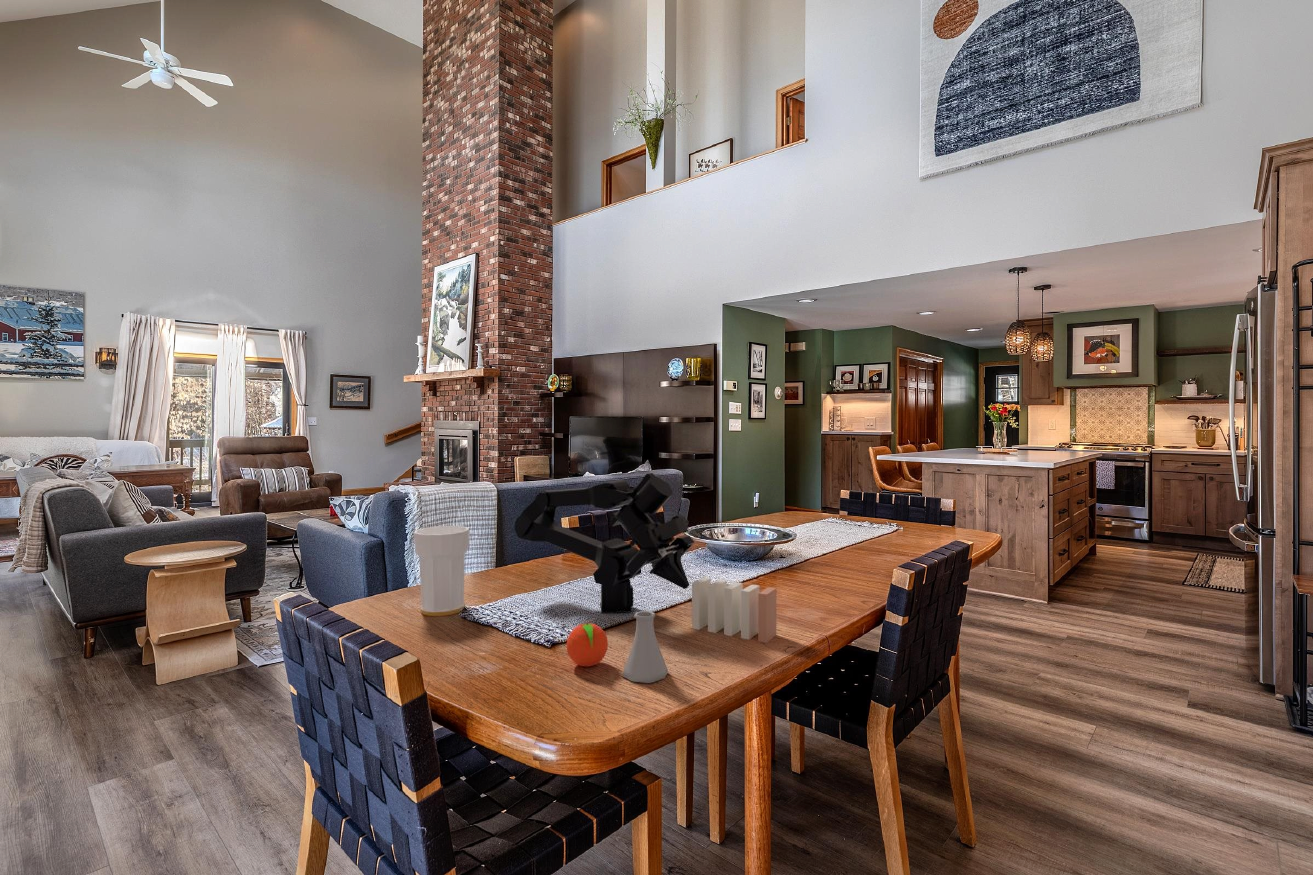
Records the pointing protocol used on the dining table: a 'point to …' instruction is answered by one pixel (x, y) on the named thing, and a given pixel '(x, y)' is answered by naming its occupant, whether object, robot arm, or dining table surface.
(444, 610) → the cup
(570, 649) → the clementine
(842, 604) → the dining table surface
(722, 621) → the domino
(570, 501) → the robot arm
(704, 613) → the domino
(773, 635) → the domino
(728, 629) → the domino
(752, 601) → the domino
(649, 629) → the flask
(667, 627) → the dining table surface
